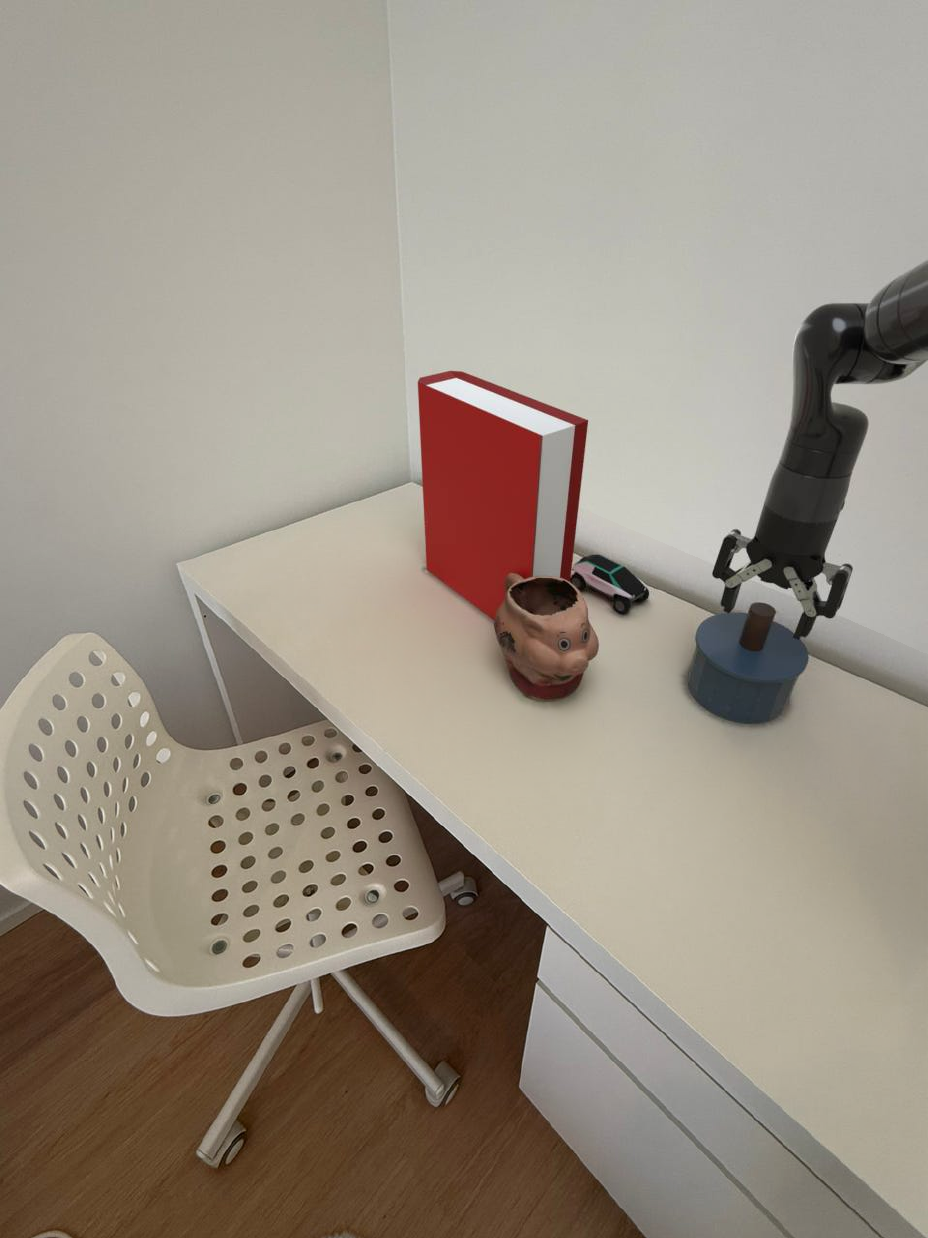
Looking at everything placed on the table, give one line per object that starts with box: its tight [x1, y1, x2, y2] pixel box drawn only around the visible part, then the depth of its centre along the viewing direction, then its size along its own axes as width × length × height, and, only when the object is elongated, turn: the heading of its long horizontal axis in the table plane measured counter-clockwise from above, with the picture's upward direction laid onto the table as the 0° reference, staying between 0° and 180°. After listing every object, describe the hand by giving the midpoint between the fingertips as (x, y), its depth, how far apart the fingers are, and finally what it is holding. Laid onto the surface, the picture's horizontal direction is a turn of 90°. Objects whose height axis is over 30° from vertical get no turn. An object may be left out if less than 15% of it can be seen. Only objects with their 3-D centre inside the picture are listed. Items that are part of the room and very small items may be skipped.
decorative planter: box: [493, 573, 600, 701], centre depth 87 cm, size 20×12×14 cm, turn 30°
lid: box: [694, 601, 810, 683], centre depth 82 cm, size 14×14×7 cm
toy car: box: [570, 554, 650, 615], centre depth 104 cm, size 6×12×5 cm, turn 42°
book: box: [417, 370, 589, 621], centre depth 97 cm, size 27×8×32 cm, turn 37°
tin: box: [687, 644, 800, 725], centre depth 85 cm, size 13×13×8 cm
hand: (762, 622), depth 80 cm, fingers open, 8 cm apart
